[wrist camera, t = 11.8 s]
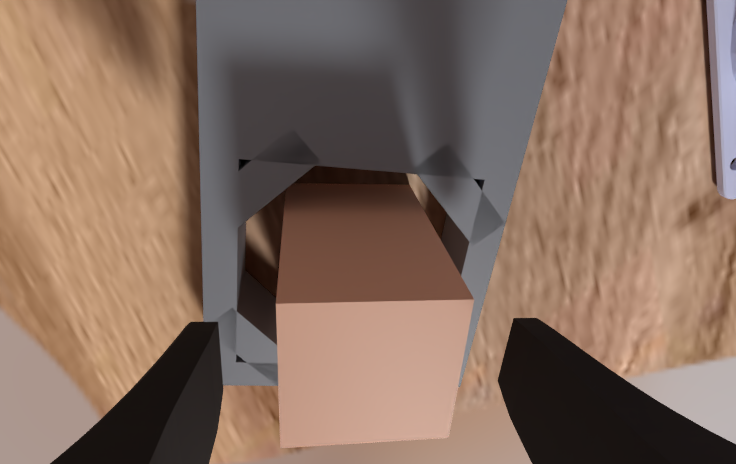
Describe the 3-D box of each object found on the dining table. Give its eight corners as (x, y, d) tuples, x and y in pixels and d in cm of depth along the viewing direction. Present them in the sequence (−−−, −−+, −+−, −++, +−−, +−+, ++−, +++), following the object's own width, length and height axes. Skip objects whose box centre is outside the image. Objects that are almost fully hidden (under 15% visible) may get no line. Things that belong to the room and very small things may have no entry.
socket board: (211, -198, 11) (190, -244, 9) (556, -128, 13) (609, -153, 11) (217, 337, 18) (204, 385, 16) (442, 342, 20) (459, 386, 18)
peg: (409, 184, 16) (474, 299, 10) (398, 287, 18) (448, 437, 12) (286, 183, 16) (276, 303, 10) (288, 289, 18) (280, 448, 12)
